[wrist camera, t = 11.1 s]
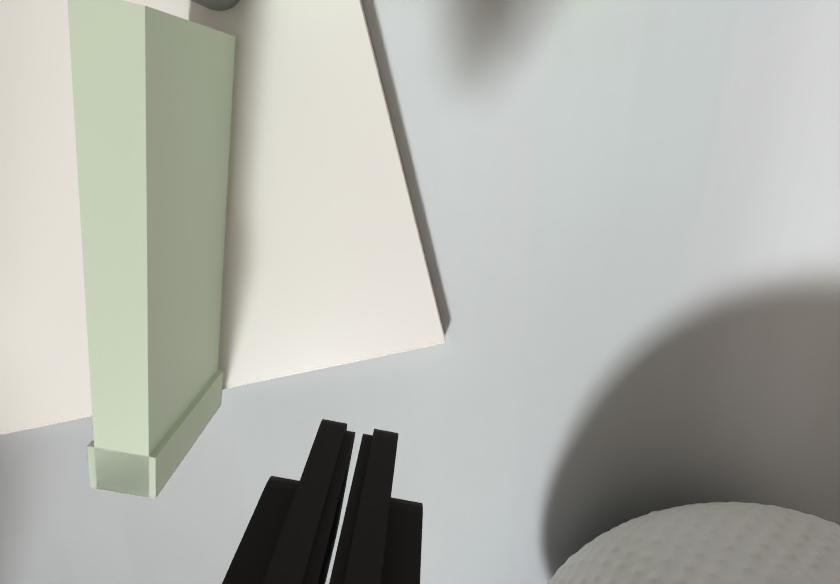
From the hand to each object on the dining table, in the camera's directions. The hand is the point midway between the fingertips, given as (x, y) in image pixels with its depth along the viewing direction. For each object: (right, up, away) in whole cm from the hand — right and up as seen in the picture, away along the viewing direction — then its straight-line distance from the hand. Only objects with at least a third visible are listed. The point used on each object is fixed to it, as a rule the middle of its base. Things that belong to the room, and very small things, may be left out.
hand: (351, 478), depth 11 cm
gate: (-6, +6, +7) cm, 11 cm away
